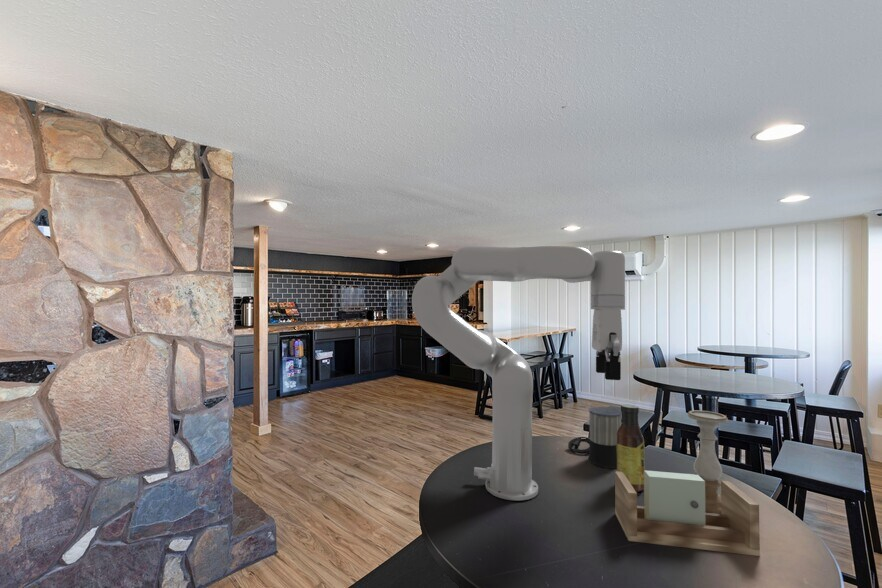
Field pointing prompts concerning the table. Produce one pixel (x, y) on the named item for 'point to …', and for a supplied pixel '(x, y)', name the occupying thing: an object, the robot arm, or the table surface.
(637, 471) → the sauce bottle
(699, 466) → the candle holder
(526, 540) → the table surface
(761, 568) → the table surface
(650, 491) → the rectangular block
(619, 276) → the robot arm
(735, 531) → the track
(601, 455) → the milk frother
